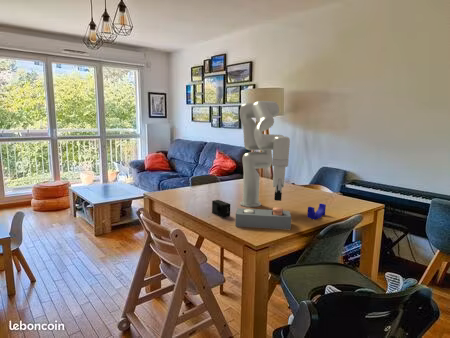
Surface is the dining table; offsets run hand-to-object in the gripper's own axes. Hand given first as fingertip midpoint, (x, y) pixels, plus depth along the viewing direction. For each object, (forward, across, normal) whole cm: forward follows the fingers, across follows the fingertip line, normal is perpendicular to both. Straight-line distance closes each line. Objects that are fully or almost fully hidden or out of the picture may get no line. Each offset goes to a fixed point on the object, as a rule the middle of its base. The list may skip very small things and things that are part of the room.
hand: (277, 200), depth 146 cm
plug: (+12, +1, -14) cm, 18 cm away
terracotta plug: (+10, +1, 0) cm, 10 cm away
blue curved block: (+13, -17, +23) cm, 31 cm away
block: (+12, +1, -7) cm, 14 cm away
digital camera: (+13, -10, -29) cm, 34 cm away
